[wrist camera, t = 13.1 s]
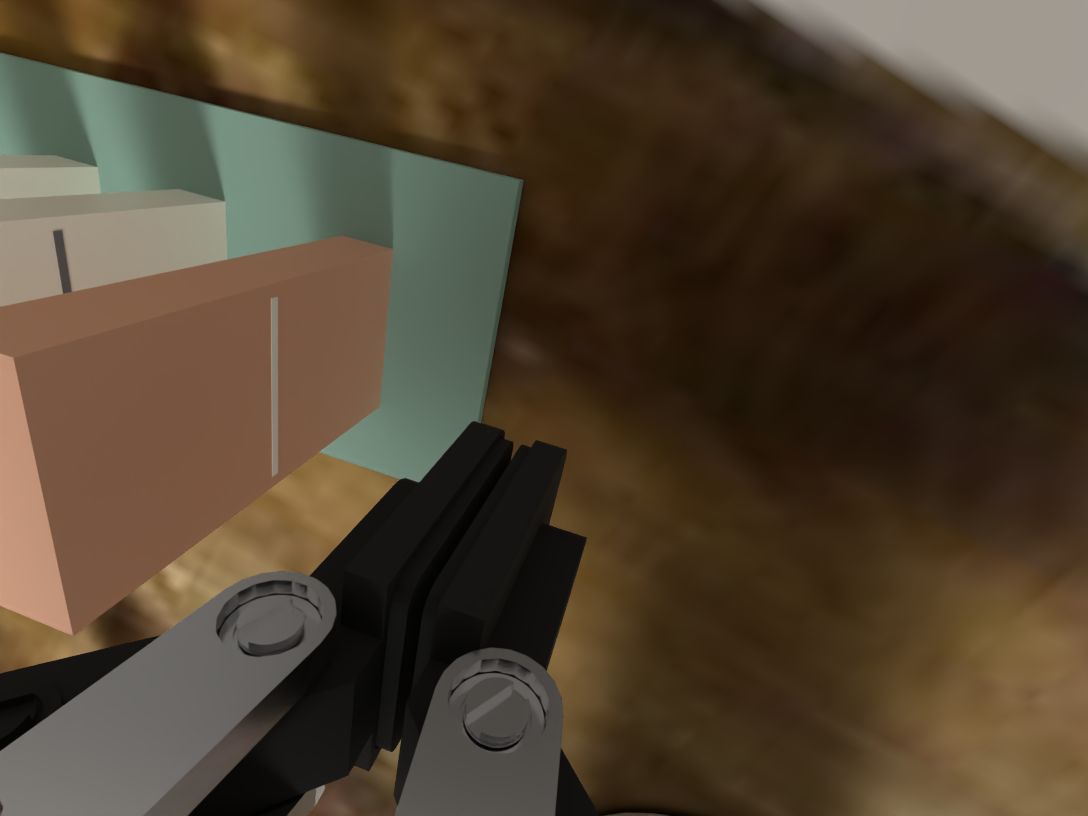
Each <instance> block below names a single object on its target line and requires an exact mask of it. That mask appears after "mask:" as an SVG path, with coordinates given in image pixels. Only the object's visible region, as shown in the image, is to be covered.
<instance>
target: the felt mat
mask: <svg viewBox="0 0 1088 816" xmlns="http://www.w3.org/2000/svg"><path fill="white" fill-rule="evenodd" d="M0 155H56V156H59V157H63V158H67V159H70V160H74V161H78V162H81V163H85V164H89V165H92V166H96V167H98V173H99V181H100V189H101V193H118V192H136V191H153V190H170V189H181V190H184V191H188V192H192V193H195V194H199V195H203V196H206V197H210V198H214V199H217V200H221V201H225V205H226V233H227V259H232V258H237V257H242V256H246V255H251V254H256V253H261V252H266V251H270V250H275V249H280V248H285V247H290V246H294V245H299V244H304V243H309V242H314V241H318V240H323V239H328V238H333V237H337V236H346V237H350V238H353V239H357V240H361V241H364V242H368V243H372V244H375V245H379V246H383V247H387V248H390V249H393V259H392V270H391V282H390V294H389V305H388V317H387V329H386V341H385V352H384V364H383V376H382V387H381V399H380V407H379V408H377V409H376V410H375V411H373V412H372V413H371V414H369V415H368V416H367V417H365V418H364V419H363V420H361V421H360V422H359V423H357V424H356V425H354V426H353V427H352V428H350V429H349V430H348V431H346V432H345V433H344V434H342V435H341V436H340V437H338V438H337V439H336V440H334V441H333V442H332V443H330V444H329V445H328V446H326V447H325V448H324V449H322V450H321V451H320V453H323V454H326V455H329V456H332V457H335V458H338V459H341V460H344V461H347V462H350V463H353V464H356V465H359V466H362V467H365V468H368V469H371V470H374V471H377V472H380V473H383V474H386V475H389V476H392V477H395V478H398V479H403V478H407V479H410V480H413V481H416V482H420V481H421V480H422V479H423V477H424V476H425V475H426V474H427V473H428V472H429V470H430V469H431V468H432V467H433V466H434V465H435V464H436V462H437V461H438V460H439V459H440V458H441V457H442V455H443V454H444V453H445V452H446V451H447V450H448V448H449V447H450V446H451V445H452V444H453V443H454V441H455V440H456V439H457V438H458V437H459V436H460V435H461V433H462V432H463V431H464V430H465V429H466V428H467V426H468V425H469V424H470V423H471V422H472V421H476V422H479V423H481V421H482V415H483V410H484V404H485V398H486V393H487V387H488V381H489V375H490V370H491V364H492V358H493V353H494V347H495V341H496V336H497V330H498V324H499V318H500V313H501V307H502V301H503V296H504V290H505V284H506V279H507V273H508V267H509V262H510V256H511V250H512V244H513V239H514V233H515V227H516V222H517V216H518V210H519V205H520V199H521V193H522V187H523V182H524V180H522V179H518V178H514V177H510V176H506V175H502V174H498V173H493V172H489V171H485V170H481V169H477V168H473V167H469V166H465V165H461V164H457V163H452V162H448V161H444V160H440V159H436V158H432V157H428V156H424V155H420V154H416V153H411V152H407V151H403V150H399V149H395V148H391V147H387V146H383V145H379V144H375V143H370V142H366V141H362V140H358V139H354V138H350V137H346V136H342V135H338V134H334V133H329V132H325V131H321V130H317V129H313V128H309V127H305V126H301V125H297V124H292V123H288V122H284V121H280V120H276V119H272V118H268V117H264V116H260V115H256V114H251V113H247V112H243V111H239V110H235V109H231V108H227V107H223V106H219V105H215V104H210V103H206V102H202V101H198V100H194V99H190V98H186V97H182V96H178V95H174V94H169V93H165V92H161V91H157V90H153V89H149V88H145V87H141V86H137V85H133V84H128V83H124V82H120V81H116V80H112V79H108V78H104V77H100V76H96V75H92V74H87V73H83V72H79V71H75V70H71V69H67V68H63V67H59V66H55V65H51V64H46V63H42V62H38V61H34V60H30V59H26V58H22V57H18V56H14V55H10V54H5V53H1V52H0Z"/></svg>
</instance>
